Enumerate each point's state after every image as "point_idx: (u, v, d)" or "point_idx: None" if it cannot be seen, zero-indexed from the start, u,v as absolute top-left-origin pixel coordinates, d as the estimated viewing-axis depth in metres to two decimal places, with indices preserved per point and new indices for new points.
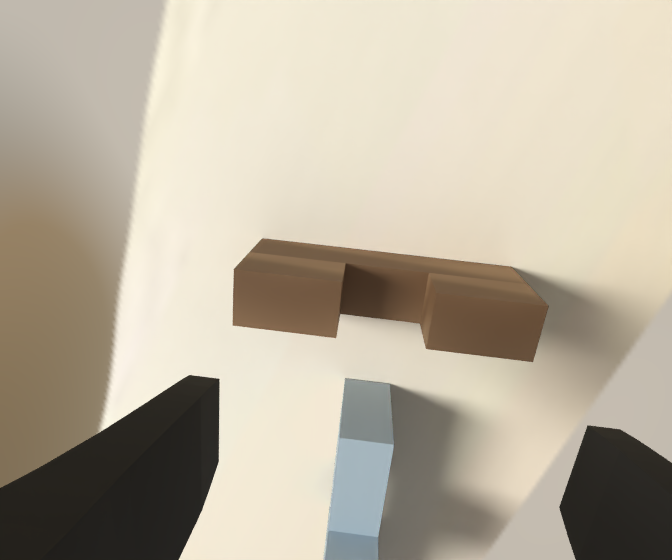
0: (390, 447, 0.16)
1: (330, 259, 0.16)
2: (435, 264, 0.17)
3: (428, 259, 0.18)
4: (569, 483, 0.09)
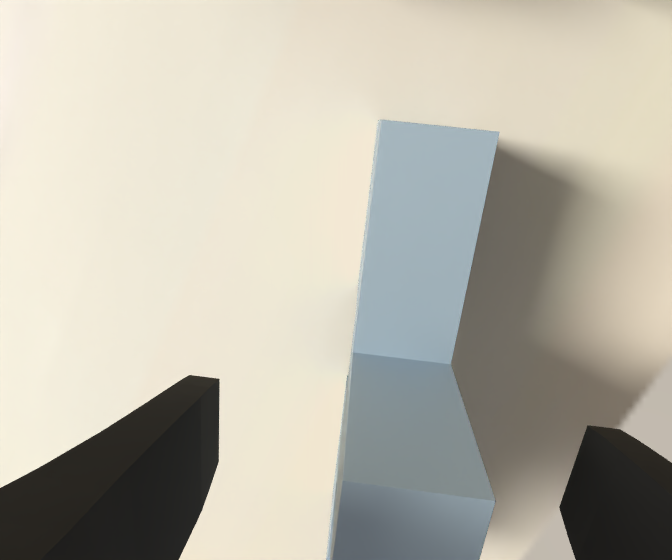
0: (490, 140, 0.08)
1: None
2: None
3: None
4: (569, 483, 0.09)
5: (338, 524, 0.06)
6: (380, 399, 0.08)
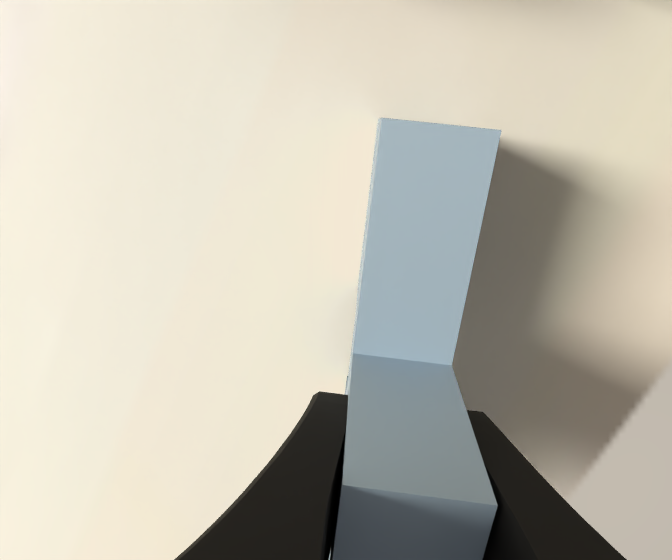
0: (492, 139, 0.08)
1: None
2: None
3: None
4: None
5: (337, 529, 0.06)
6: (380, 401, 0.08)
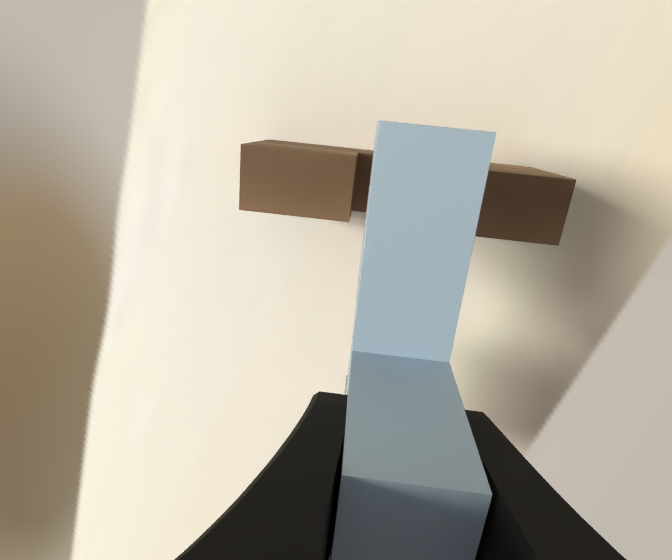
0: (487, 141, 0.08)
1: (341, 150, 0.16)
2: None
3: None
4: None
5: (337, 518, 0.06)
6: (379, 396, 0.08)
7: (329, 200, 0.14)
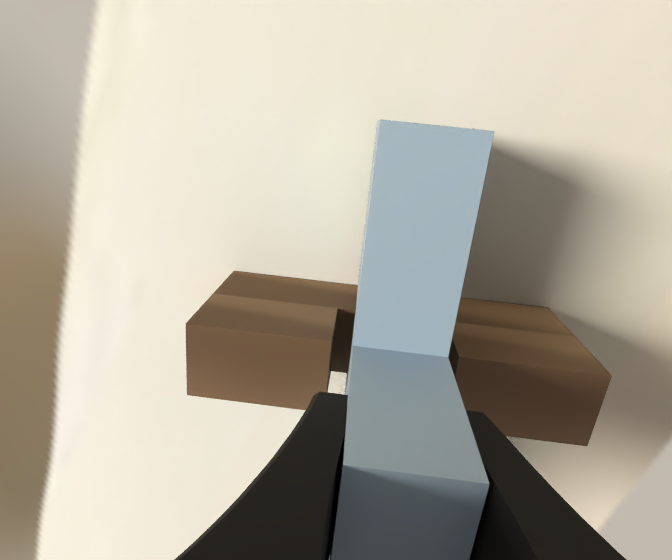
0: (486, 139, 0.08)
1: (318, 302, 0.13)
2: None
3: None
4: None
5: (339, 507, 0.06)
6: (379, 389, 0.08)
7: (299, 388, 0.11)
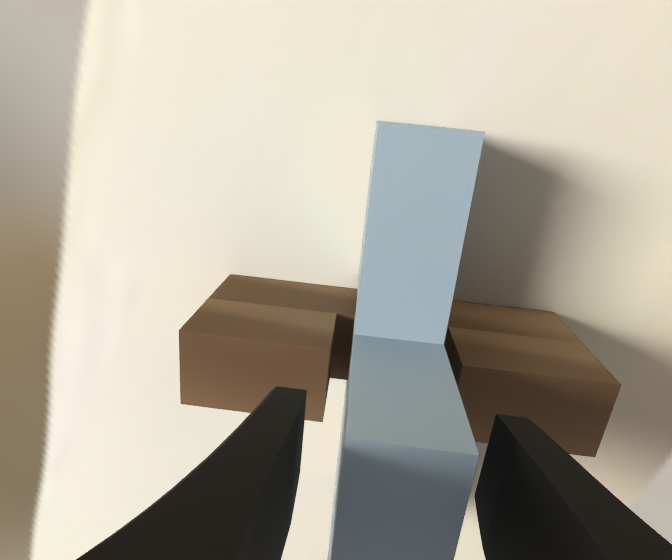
0: (477, 139, 0.09)
1: (316, 307, 0.12)
2: (456, 311, 0.13)
3: None
4: (481, 471, 0.09)
5: (342, 478, 0.07)
6: (378, 373, 0.09)
7: None
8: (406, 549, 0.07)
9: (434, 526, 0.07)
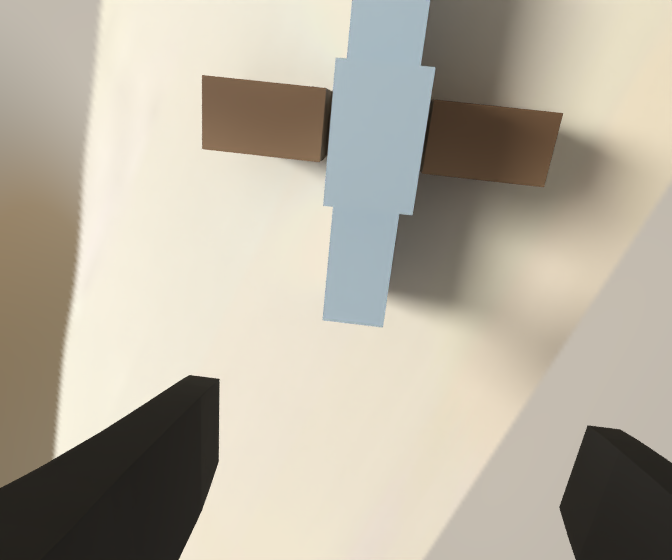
0: None
1: None
2: None
3: None
4: (569, 483, 0.09)
5: (333, 99, 0.09)
6: None
7: (298, 138, 0.13)
8: (382, 168, 0.10)
9: (403, 142, 0.10)
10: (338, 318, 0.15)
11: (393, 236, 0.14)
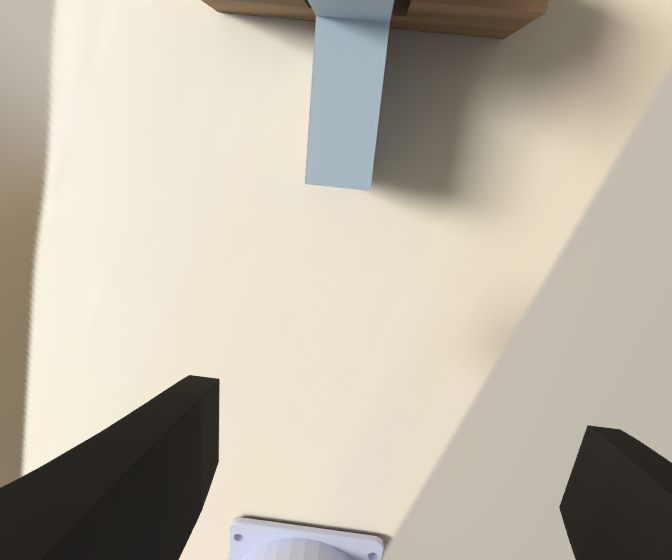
0: None
1: None
2: None
3: None
4: (569, 483, 0.09)
5: None
6: None
7: None
8: None
9: None
10: (322, 181, 0.14)
11: (380, 79, 0.13)
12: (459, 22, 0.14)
